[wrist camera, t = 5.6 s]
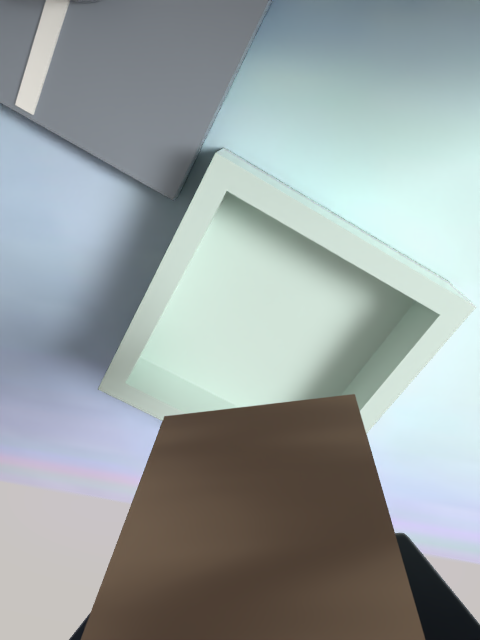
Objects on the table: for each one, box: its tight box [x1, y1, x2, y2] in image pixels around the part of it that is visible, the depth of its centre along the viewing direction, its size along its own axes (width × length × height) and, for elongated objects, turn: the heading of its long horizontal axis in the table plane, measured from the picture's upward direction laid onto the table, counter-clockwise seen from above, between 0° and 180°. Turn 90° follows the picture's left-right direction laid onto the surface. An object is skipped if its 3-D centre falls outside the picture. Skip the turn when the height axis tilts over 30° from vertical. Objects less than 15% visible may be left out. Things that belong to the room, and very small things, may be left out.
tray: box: [98, 148, 476, 434], centre depth 17 cm, size 10×10×2 cm
